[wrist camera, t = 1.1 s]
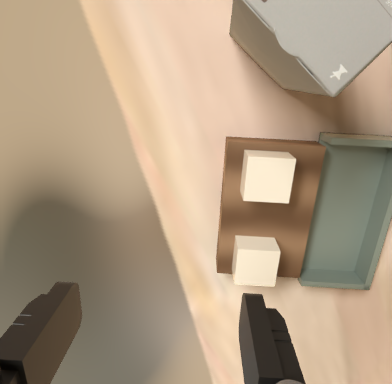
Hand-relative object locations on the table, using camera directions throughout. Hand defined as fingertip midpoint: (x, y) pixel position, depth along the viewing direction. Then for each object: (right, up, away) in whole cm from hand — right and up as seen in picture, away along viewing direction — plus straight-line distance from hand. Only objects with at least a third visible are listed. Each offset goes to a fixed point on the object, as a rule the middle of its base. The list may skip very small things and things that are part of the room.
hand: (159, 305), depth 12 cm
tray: (+19, +3, +24) cm, 30 cm away
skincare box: (+9, +20, +18) cm, 28 cm away
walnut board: (+10, +3, +24) cm, 26 cm away
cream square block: (+8, -3, +23) cm, 24 cm away
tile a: (+9, +7, +19) cm, 22 cm away
